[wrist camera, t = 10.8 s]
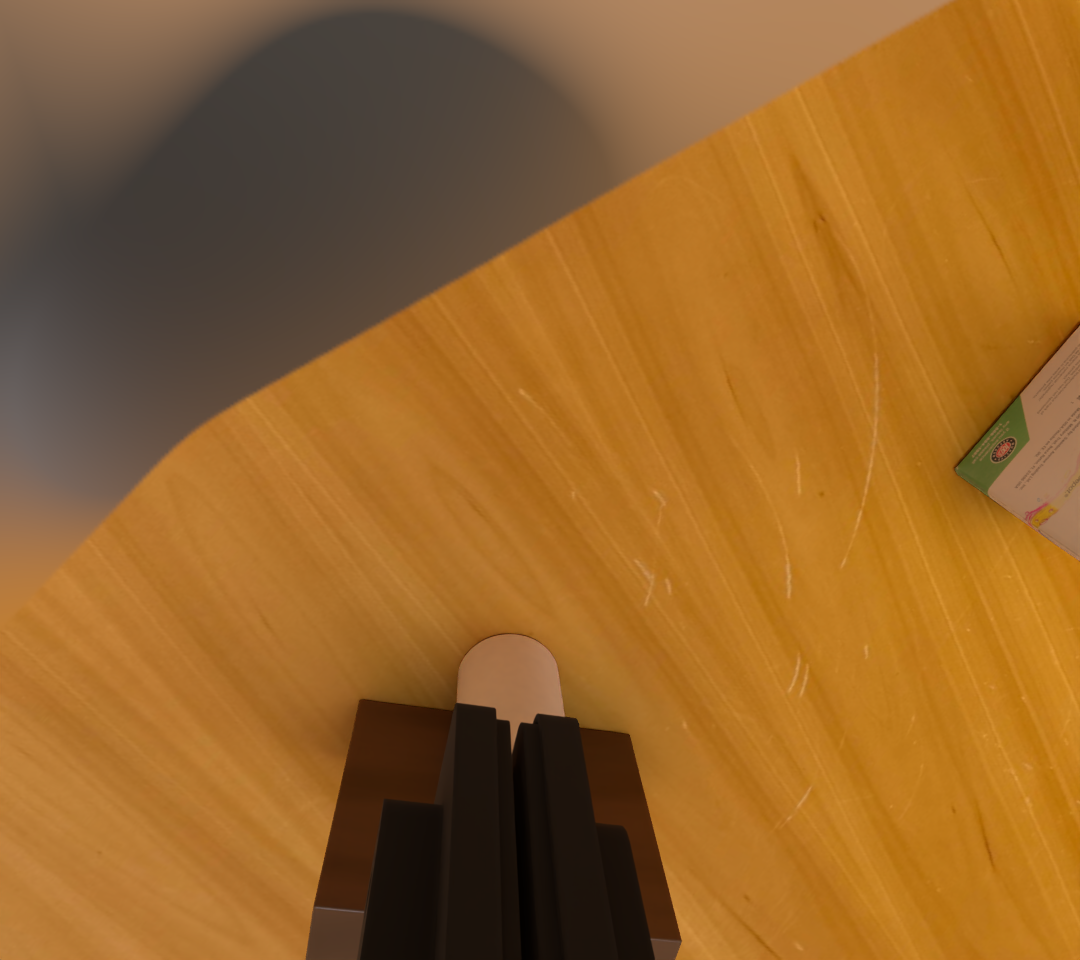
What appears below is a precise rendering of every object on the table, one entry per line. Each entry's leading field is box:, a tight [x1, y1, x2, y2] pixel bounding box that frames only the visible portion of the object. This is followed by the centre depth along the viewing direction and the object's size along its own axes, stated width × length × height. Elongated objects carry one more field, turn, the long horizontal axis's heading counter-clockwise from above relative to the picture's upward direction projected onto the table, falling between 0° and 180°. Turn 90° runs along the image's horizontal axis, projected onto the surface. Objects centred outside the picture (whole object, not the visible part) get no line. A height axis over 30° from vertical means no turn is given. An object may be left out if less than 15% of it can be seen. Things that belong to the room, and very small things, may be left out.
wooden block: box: [306, 700, 682, 960], centre depth 36 cm, size 4×14×12 cm, turn 78°
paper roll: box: [457, 634, 565, 751], centre depth 36 cm, size 9×5×11 cm, turn 168°
